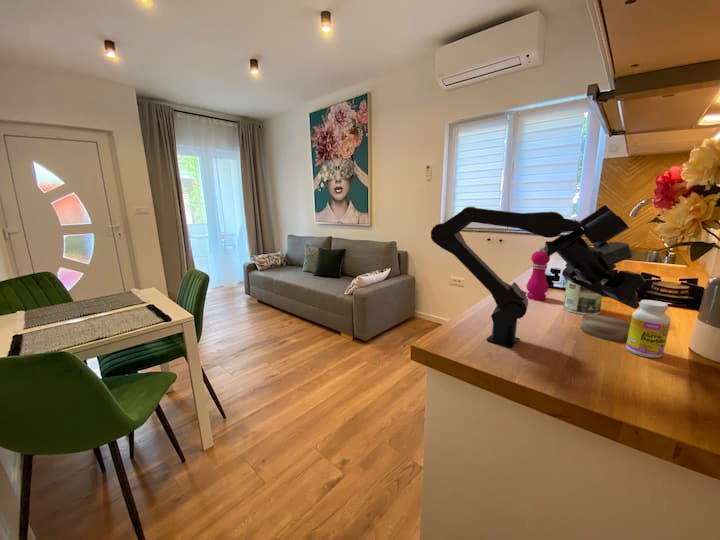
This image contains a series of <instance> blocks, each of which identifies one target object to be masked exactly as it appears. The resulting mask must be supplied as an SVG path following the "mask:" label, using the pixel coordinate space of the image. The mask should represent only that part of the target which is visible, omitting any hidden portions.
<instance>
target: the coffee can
mask: <svg viewBox="0 0 720 540" xmlns="http://www.w3.org/2000/svg"><path fill="white" fill-rule="evenodd" d="M600 282H601V284H602V285H603V284H605V283H606V282H603V281H600ZM602 299H603V296H602V295H599V294H597V293H595V292H593V291H590V290H588V289H586V288H584V287H581V286H579V285H577V284H575V283H572V282H571V281H569V280H567V279H566V285H565V293H564V302H563V305H562V307H563V309H564V310H566V311H567V312H570V313H573V314H577V315H582V316H585V315H601V307H602Z"/></svg>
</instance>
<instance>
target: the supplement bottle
mask: <svg viewBox="0 0 720 540" xmlns="http://www.w3.org/2000/svg"><path fill="white" fill-rule="evenodd" d="M639 305H640V306H639V308H640V309H635V310H634V311H633V312H632V315H631V319H630V328H629V333H628V338H627V341H626V344H625V347H626V349H627V351H629V352H630V353H633V354H635V355H637V356H641V357H644V358H651V359H658V358H662V357H663V355H664V352H665V347H666V343H667V338H668V334H669V330H670V327H671V323H672V321H671V317H670V316H669V315H668V314H666V311H668V306H669V304H668V303H665V302H662V301H658V300H653V299H642V300H640V302H639Z"/></svg>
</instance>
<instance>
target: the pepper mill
mask: <svg viewBox="0 0 720 540" xmlns="http://www.w3.org/2000/svg"><path fill="white" fill-rule="evenodd" d="M530 259H531V262H532V264H531V265H532V266H531V267H532V273H531V276H530V278H529V280H528V281H527V284H526V289H527V291H528V292H526V297H528V298H527V299H529V298H530V299H529V300H531V299H534V300H533V301H537V300H543V301H545V300H546V298H547V294H545V293H547V292H548V291H549V284H548V281H547V277H546V269H548V263H549V262H550V261H551V255H550V256H547V255H546V253H545V251H544V247H543V246H540V247H539V248H538V251H535V252H534V253H532V255H531V258H530Z"/></svg>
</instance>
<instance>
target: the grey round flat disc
mask: <svg viewBox="0 0 720 540" xmlns="http://www.w3.org/2000/svg"><path fill="white" fill-rule="evenodd" d="M580 324H581V325H580V329H581V331H582V332H583V333H584V334H587V335H589V336H591V337H594V338H596V339H600V340H601V339H602V340H605V341H614V342H627V338H628V333H629V328H630V324H631V322H628V321H626V320H623V319H620V318H617V317H614V316H609V315H602V314H598V315H582V318H581V323H580Z"/></svg>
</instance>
